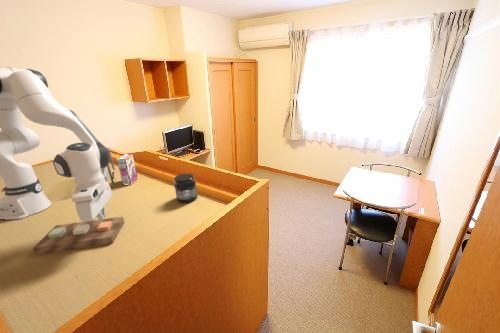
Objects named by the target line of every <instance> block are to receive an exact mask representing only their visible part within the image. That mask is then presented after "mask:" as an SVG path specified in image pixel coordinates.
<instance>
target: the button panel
mask: <svg viewBox="0 0 500 333" xmlns="http://www.w3.org/2000/svg"><path fill="white" fill-rule="evenodd" d="M107 221H112V224H113V225H112V227H111V228H110V230H107V231H100V232H98V231H97V227H98V226H99V224H100V223H101V222H107ZM85 224H89V226H90V228H89V230H88V231H87V232H86V234H79V235H74V234H73V230H74V229H75V228H76V227H77V226H78V225H85ZM124 224H125V219H124V216H119V217H117V216H115V217H109V218H104V219H103V220H100V221H99V220H98V219H94V220H93V221H88V222H83V221H81V222H71V223H65V224H57V225H55V226H54V227H52V229H50V230H49V232H47V233H46V235H44V236H43V237H42V238H41V240H39V241H38V242H37V243H36V244H35V245H34V246H33V247H32V250H33V252H34V254H35V256H38V255H44V254H45V255H46V254H50V253H57V252H64V251H69V250H71V251H72V250H78V249H85V248H92V247H97V246H102V245H111V244H114V243H115V240H116V238H117V237H118V236H119V233H120V232H121V229H122V228H123V226H124ZM63 227H65V228H66V230H67V231H66V232H65V233H64V234H63V236H62V237H58V238H51V239H49V237H48V234H49V233H50V232H51V231H52V230H53V229H56V228H63Z"/></svg>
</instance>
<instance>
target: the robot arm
mask: <svg viewBox="0 0 500 333" xmlns="http://www.w3.org/2000/svg"><path fill="white" fill-rule="evenodd" d="M22 114H23V116H24V117H25V118H26V119H27V120H29V121H31V122H33V123H35V124H38V125H42V126H48V127H49V126H50V127H58V128H59V127H60V128H64V129H67V130H69V131H71V132H72V133H74V135H75V136H76V137H77V138H78V139H79V141H80V142H75V143H72V144H69V145H67V146H66V148H65V150H64V151H62V152H60V153H58V154H56V155H55V157H54V158H53V160H52V164H53V167H54V169H55V172H56V173H57V175H59V176H61V177H64V178H74V183H75V185H76V186H75V189H74V191H73V193H72V195H71V201H72V202H73V203H75V205H74V206H75V210H76V212H77V215H78V218H79V220H80V221H81V222H88V221H93V220H96V217H97V220H99V221H100V220H103V219H106V218H105V217H106V216H107V214H106V205H107V204H108V202H109V201H110V200H111V199H112V197H113V191H112V188H111V185H110V183H109V182H108V181H106V180H105V179H104V176H103V174H102V173H101V169H102V168H107V165H108V164H109V165H110V163H111V161H110V159H111V157H112V154H111V155H110V153H111V151H110V152H109V151H108V149H107V148H108V147H106V146H105V145H104V144H103V143H101V142H100V141H99V139H98V138H97V137H96V136H95V135H94V133H93V132H92V131H91V130H90V129H89V128H88V126H87V125H86V123H84V122H83V120H82V119H81V118H80V117H79V116H78V114H76V113H75V112H74V111H73V110H71V109H68V108H67V107H64V106H63V105H61V104H60V102H58V100H57V99H55V97H54V95H53V94H52V92H51V90H50V89H49V84H48V80H47V78H46V77H45V75H43V73H41V72H40V71H38V70H35V69H31V68H26V69H25V68H21V67H11V66H5V67H3V66H0V177H1V179H2V181H3V182H4V184H5V187H3V188H2V189H1V190H0V191H1V193H3V192H4V195H3V196H2V197H1V198H0V219H5V220H20V219H24V218H27V217H29V216H31V215H34V214H37V213H39V212H42V211H44V210H47V209H48V208H50V207H51V205H52V201H51V200H49V198H48V197H47V196H46V194H45V192H44V190H43V188H42V184H41V182H40V180H39V178H38V177H37V175H36V173H35V170H34V168H33V166H32V165H31V164H29V163H27V162H25V161H24V162H23V161H18V160H17V161H16V160H15V158H14V157H13V156H15V155H19V154H23V153H27V152H30V151H32V150H34V149H36V148H38V147H39V146H40V144H41V138H40V136H39V134H38V133H37V132H35V131H34V130H32V129H31V128H28V127H27V126H26V125H25V124H24V123H23V120H22Z"/></svg>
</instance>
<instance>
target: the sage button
mask: <svg viewBox="0 0 500 333" xmlns="http://www.w3.org/2000/svg"><path fill="white" fill-rule="evenodd" d="M52 229H53V228H52ZM52 229H51V230H52ZM51 230H50V231H51ZM50 231H49V232H50ZM66 231H67V230H66V228H65V227H63V228H56V229H53V230H52V231H51V232H50V233H49V232H48V233H49V234H48V233H47V234H48V237H49V239H51V238H58V237H62V236H63V234H64V233H65V232H66Z"/></svg>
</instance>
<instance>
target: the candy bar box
mask: <svg viewBox="0 0 500 333" xmlns="http://www.w3.org/2000/svg"><path fill="white" fill-rule="evenodd" d="M116 161H117V165H118V169H119V174H120V179H121V182H122V185H123V184H131V183H132V182H133V181H134V179H135V178H136V177H138V172H137V168H136V163H135V158H134V154H133V153H126V154H125V153H124V154H123V155H121V156H120V157H119V158H117V159H116ZM134 182H135V181H134ZM134 182H133V183H134ZM133 183H132V184H133ZM132 184H131V185H132Z"/></svg>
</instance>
